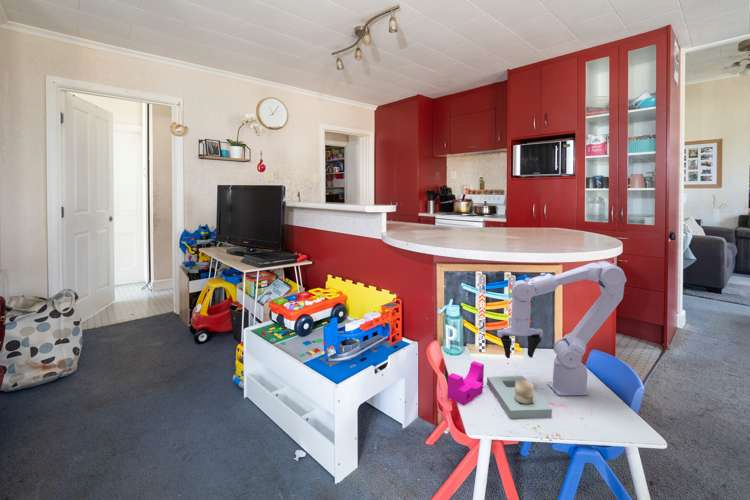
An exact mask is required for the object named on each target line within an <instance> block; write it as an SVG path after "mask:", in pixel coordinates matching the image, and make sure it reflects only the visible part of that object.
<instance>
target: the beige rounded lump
mask: <svg viewBox="0 0 750 500" xmlns="http://www.w3.org/2000/svg"><path fill="white" fill-rule="evenodd" d="M534 387H535V386H534V384H533V382H531V381H528V380H526V381H523V380H520V381H517V382H516V385H515V400H516V401H517V402H518V403H519V404H520V405H522V404H524V405H530V404H532V403H533V389H534V390H535V388H534Z"/></svg>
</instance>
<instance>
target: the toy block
mask: <svg viewBox="0 0 750 500" xmlns="http://www.w3.org/2000/svg"><path fill="white" fill-rule="evenodd" d="M484 375H485V365H484V364H483V363H480V362H478V361H475V360H473V361H472V362H470V367H469V370H468V372H467V374H466V376H465V378H464V377H463V376H462V375H459V374H456V373H454V372H452V373H450V374H449V375H447V394H446V395H447V396H446V397H447V399H450V400H451V401H455V402H456V403H458V404H460V405H463V406H465V405H467V404H468V403H470V402H472V401H473V400H475V399H476V398H477V397H478V396H480V395H482V394H483V391H484V390H483V389H484V388H483V387H484Z"/></svg>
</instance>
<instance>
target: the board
mask: <svg viewBox="0 0 750 500" xmlns="http://www.w3.org/2000/svg"><path fill="white" fill-rule="evenodd" d="M520 380H523V381H527V380H526V379H525V377H524V376H522V375H512V376H511V375H508V376H487V377H486V385H487V386H488V388H489V389H490V390H491V392H492V394H493V395H494V397H495V398H496V399H497V401H498V402H499V404H500V405H501V407H502V408H503V410H504V412H505V413H506V414H507V416H508V417H509V419H512V420H513V419H542V418H547V419H548V418H552V414H553V410H552V409H553V408H551V407H550V405H549V404H548V403H547V402H546V400H544V398H543V397H542V396H541V395H540V394H539V393H538V392H537V391H536V390H535V388H534V389H533V403H532V404H530V405H524V404H522V405H520V404H519V403H518V402H517V401H516V400H515V385H516V382H517V381H520Z"/></svg>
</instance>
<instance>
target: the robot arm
mask: <svg viewBox="0 0 750 500" xmlns="http://www.w3.org/2000/svg"><path fill="white" fill-rule="evenodd" d="M583 280H588V281H592V282H596V283H597V284H598V287H599V290H600V293H601V294H600V295H599V296H598V297H597V299H596V300H595V302H594V303H593V304H592V306H591V307H590V308H589V309H588V310H587V312H586V313H585V314H584V316H583V317H582V318H581V319H580V321H579V322H578V323H577V324H576V326H575V327H574V328H573V330H572V331H571V332H568V333H567V334H565V335H564V336H563V337H562V338H560V339H558V340H556V341H555V342H554V344H553V351H554V353H555V355H556V356H555V358H554V359H553V371H552V372H553V373H552V381H548V382H547V385H548V386H549V387H550V389H552V390H553V391H554V392H555V393H556V395H558V396H559V397H561V396H562V397H563V396H564V397H565V396H566V397H567V396H587V395H588V392H587V389H588V388H587V386H588V370H587V367H586V366H585V364H584V363H582V359H583V357H584V354H585V353H586V350H587V349H586V348H587V344H588V343H589V341H590V340H591V338H593V336H594V335H595V334H596V333H597V331H598V330H599V329H600V328H601V326H602V325H603V324H604V323H605V322H606V320H607V319H608V318H609V317H610V315H611V314H612V313H613V312H614V311H615V309H616V308H617V307H618V306H619V304H620V303H621V302H622V300H623V298H624V293H625V291H624V290H625V285H626V284H625V283H626V282H627V277H626V275H625V272H624V270H623V268H621V267H620V266H617V265H614V264H612V263H611V262H610V261H607V260H598V261H596V262H590V263H587V264H585V265H581V266H579V267H576V268H573V269H570V270H567V271H564V272H560V273H558V274H555V275H554V274H551V273H546V272H541V273H540V275H537V276H535V277H531V278H529V277H526V278H525V279H524V280H522V279H520V280H516V281H515V282H514V283H513V284H512V286H511V288H510V289H511V291H512V303H511V321H510V322H511V323H510V327H508V328H502V329H496V330H497V331H496V334H497V337H498V338H499V339H500V340H501V341H500V342H501V343H502V346H503V349H504V354H505V355H504V357H506V359H510V357H511V345H512V342H513V341H512V340H511V337H527V344H528V345H527V356H528V357H529V358H533V356H534V353H535V351H536V350H537V347H538V346H539V344H540V343H541V341H542V338H541V337H544V330H542V328H531V327H530V325H531V311H532V310H531V309H532V304H531V299H532V298H533V297H537V296H540V295H544V294H548V293H550V292H555V291H556V290H557V288H558V287H559V286H563V285H566V284H570V283H574V282H575V283H576V282H579V281H583Z"/></svg>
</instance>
